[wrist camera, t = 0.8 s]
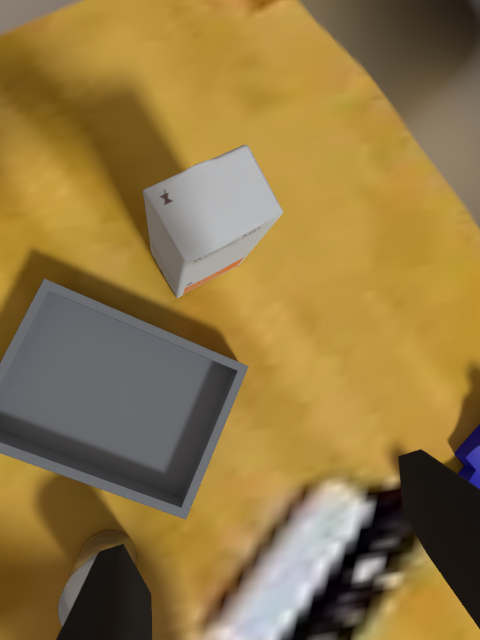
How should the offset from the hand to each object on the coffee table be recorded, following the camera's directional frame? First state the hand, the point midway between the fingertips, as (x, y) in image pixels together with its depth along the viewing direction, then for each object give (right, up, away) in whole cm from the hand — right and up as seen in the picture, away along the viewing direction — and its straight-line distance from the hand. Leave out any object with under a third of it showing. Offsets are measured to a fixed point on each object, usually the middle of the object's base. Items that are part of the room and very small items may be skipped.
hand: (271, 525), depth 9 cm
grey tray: (-10, 0, +19) cm, 21 cm away
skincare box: (-4, +10, +21) cm, 23 cm away
